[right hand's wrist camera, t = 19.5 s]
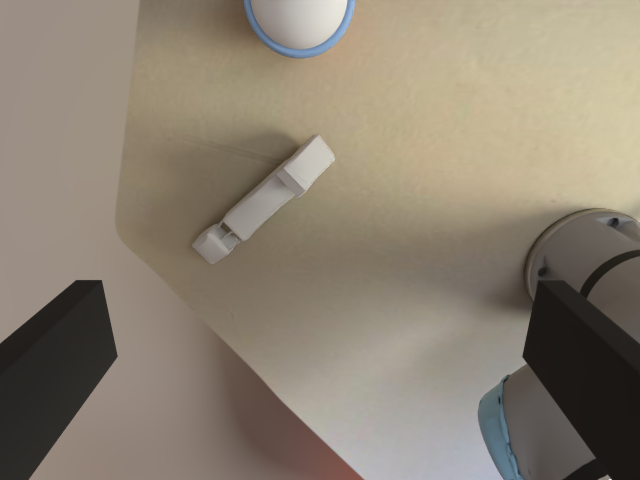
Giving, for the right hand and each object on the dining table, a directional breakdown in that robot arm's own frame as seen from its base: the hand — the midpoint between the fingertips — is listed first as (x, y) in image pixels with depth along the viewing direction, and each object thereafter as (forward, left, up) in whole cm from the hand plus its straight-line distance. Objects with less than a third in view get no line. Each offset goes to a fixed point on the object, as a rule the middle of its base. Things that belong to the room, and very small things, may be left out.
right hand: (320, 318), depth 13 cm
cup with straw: (-8, -11, -38) cm, 40 cm away
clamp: (+9, 0, -38) cm, 39 cm away
